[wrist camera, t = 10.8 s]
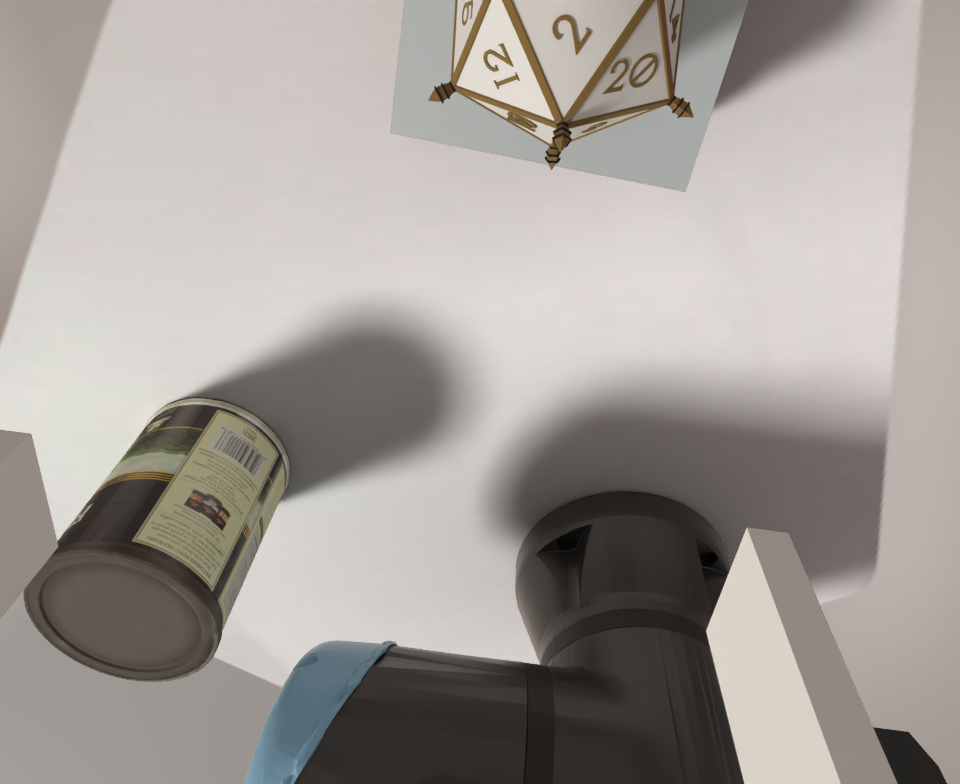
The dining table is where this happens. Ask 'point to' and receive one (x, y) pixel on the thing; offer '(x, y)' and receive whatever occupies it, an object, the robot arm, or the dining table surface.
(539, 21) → the game die
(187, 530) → the coffee can
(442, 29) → the tower top
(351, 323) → the dining table surface
